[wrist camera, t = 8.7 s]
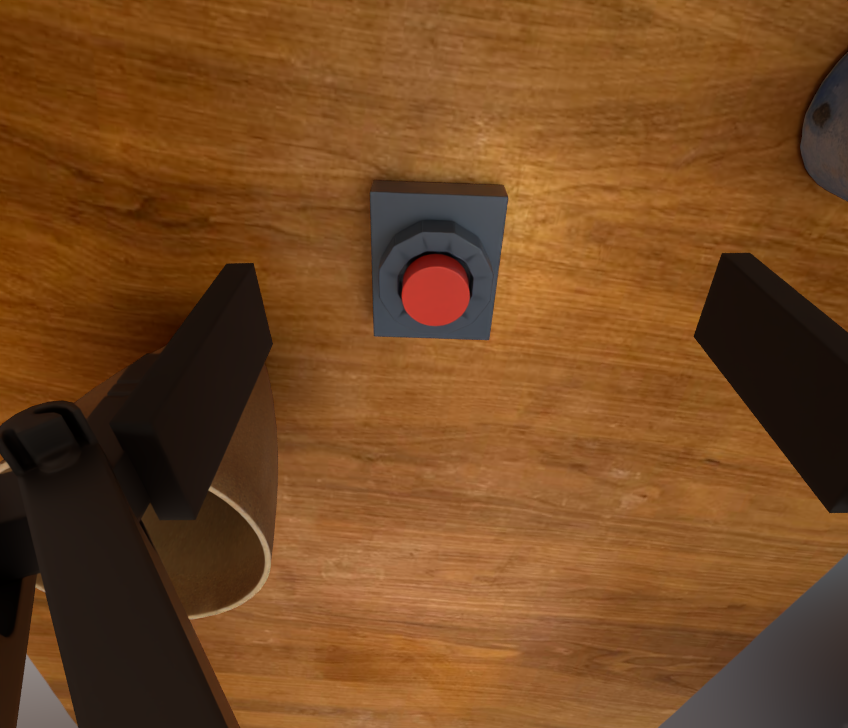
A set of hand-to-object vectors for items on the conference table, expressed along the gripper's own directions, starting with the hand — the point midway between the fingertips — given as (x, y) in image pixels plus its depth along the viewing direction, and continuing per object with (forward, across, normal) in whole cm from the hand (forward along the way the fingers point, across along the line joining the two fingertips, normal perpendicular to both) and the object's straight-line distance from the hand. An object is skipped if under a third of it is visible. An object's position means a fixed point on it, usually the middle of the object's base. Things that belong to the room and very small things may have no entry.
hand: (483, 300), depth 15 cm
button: (+15, -1, -7) cm, 17 cm away
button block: (+19, -1, -7) cm, 20 cm away
